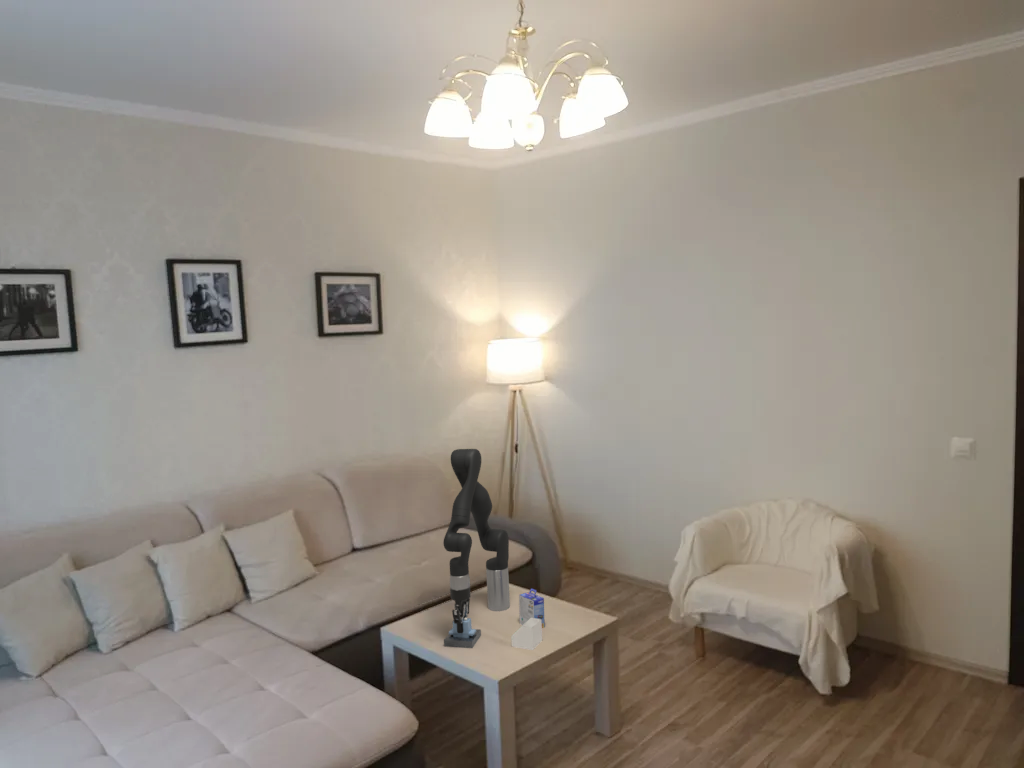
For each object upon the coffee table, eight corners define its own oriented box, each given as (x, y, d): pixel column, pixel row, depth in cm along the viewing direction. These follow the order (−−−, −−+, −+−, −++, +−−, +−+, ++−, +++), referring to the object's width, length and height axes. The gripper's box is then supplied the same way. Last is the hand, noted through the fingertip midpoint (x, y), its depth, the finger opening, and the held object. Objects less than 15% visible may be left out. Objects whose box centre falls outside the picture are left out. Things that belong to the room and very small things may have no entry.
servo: (452, 636, 271) (451, 615, 270) (476, 637, 268) (475, 616, 268) (449, 640, 267) (447, 619, 266) (473, 642, 264) (472, 620, 264)
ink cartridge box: (545, 628, 276) (544, 591, 275) (534, 632, 272) (533, 595, 272) (530, 621, 284) (528, 585, 283) (519, 624, 280) (517, 588, 279)
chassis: (453, 634, 274) (453, 627, 274) (481, 635, 271) (480, 629, 271) (444, 646, 263) (443, 639, 263) (472, 648, 261) (472, 641, 261)
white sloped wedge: (549, 634, 270) (548, 612, 270) (533, 650, 257) (531, 627, 256) (528, 631, 274) (527, 610, 273) (511, 647, 260) (510, 624, 260)
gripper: (456, 578, 274) (459, 622, 275) (444, 591, 260) (446, 637, 261) (475, 579, 272) (477, 623, 273) (463, 592, 258) (465, 638, 259)
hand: (462, 629), depth 267 cm, fingers open, 4 cm apart
